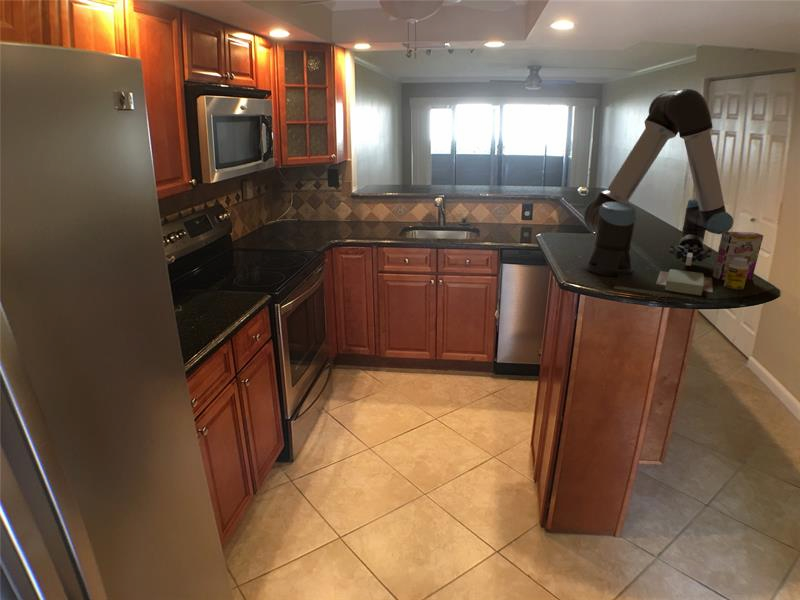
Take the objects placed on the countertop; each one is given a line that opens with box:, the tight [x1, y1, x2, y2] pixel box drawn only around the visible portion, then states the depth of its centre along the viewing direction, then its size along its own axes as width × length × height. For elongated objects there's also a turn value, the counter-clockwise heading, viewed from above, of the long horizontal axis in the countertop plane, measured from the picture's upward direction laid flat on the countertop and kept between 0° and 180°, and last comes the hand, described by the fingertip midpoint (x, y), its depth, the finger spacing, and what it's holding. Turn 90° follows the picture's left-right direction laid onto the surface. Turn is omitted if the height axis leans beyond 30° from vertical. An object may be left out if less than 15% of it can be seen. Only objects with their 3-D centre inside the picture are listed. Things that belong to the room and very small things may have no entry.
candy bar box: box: [712, 231, 764, 281], centre depth 180 cm, size 11×5×16 cm, turn 92°
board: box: [655, 270, 714, 293], centre depth 177 cm, size 16×18×1 cm
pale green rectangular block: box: [664, 268, 705, 296], centre depth 171 cm, size 10×3×16 cm
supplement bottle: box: [723, 258, 749, 291], centre depth 170 cm, size 6×6×10 cm
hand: (688, 261), depth 172 cm, fingers closed
